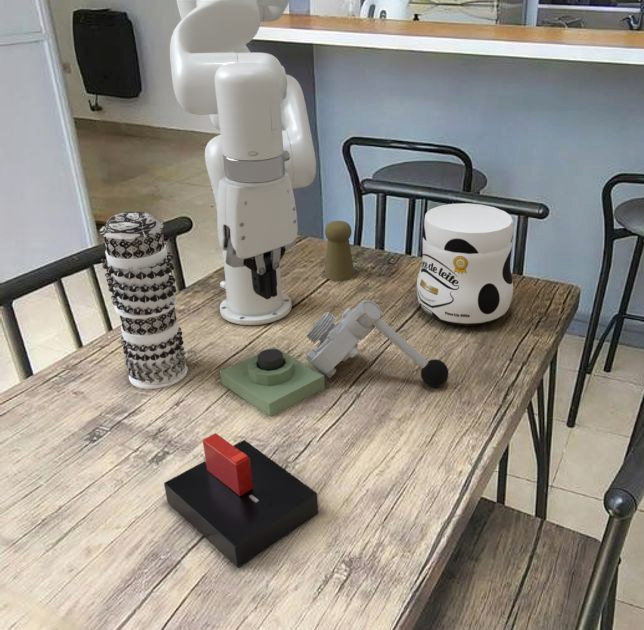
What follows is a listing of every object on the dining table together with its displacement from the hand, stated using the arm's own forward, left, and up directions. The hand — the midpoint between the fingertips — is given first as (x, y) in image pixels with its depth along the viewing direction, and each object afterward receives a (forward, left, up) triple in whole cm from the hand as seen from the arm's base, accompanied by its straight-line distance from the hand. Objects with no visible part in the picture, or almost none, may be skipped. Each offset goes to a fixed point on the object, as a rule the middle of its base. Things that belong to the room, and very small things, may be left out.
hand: (265, 294), depth 96 cm
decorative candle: (-14, -11, -15) cm, 23 cm away
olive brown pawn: (-22, +33, -15) cm, 43 cm away
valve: (+10, +12, -15) cm, 22 cm away
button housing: (+1, -1, -15) cm, 15 cm away
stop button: (+1, -1, -11) cm, 11 cm away
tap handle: (+17, -19, -12) cm, 28 cm away
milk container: (+6, +38, -15) cm, 41 cm away
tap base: (+19, -19, -15) cm, 30 cm away
